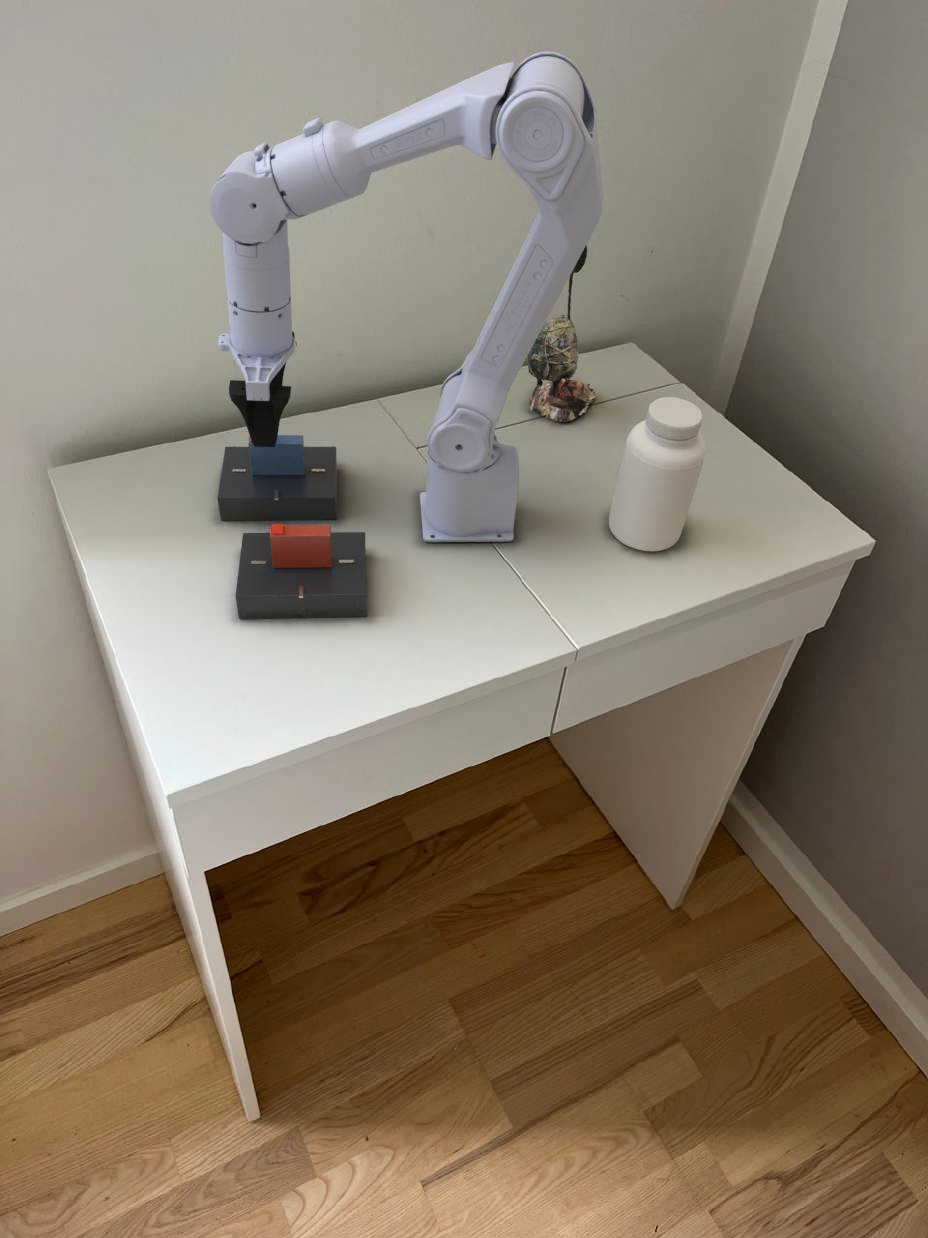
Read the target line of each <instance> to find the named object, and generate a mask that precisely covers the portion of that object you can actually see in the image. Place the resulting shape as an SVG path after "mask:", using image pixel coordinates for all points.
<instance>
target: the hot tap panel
mask: <svg viewBox="0 0 928 1238" xmlns="http://www.w3.org/2000/svg"><path fill="white" fill-rule="evenodd" d="M331 549H332V567H319V568H273V560H272V551H271V542H270V532H242V537H241V547H240V554H239V564H238V572H237V578H236V579H237V580H236V588H235V603H236V609H237V616H238V619H239V620H250V619H252V620H255V619H256V620H257V619H258V620H259V619H311V618H312V619H313V618H366V617H367V616H368V615H367V614H368V612H367V611H368V610H367V608H368V606H367V603H368V602H367V557H366V555H367V554H366V552H367V551H366V550H367V549H366V532H365V531H333V532H332V531H331Z"/></svg>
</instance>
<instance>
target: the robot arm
mask: <svg viewBox="0 0 928 1238" xmlns="http://www.w3.org/2000/svg"><path fill="white" fill-rule="evenodd" d="M515 64H516V61H511V62H506V63H501V64H498V65H496V66H493V67H491V68H488V69H487V70H485V71H481V72H480V73H477V74H476V75H473V76H470V77H469V78H466V79H464V80H462V81H460V82H458V83H456V84H453V85H451V86H449V87H447V88H445V89H443V90H440V91H438V92H436V93H434V94H432V95H430V96H428V97H425V98H423V99H421V100H419V101H417V102H415V103H412V104H411V105H408V106H407V107H404V108H401V109H400V110H398V111H395V112H393V113H391V114H389V115H387V116H385V117H383V118H381V119H378V120H376V121H374V122H372V123H370V124H368V125H366V126H363V127H361V128H357V127H354V126H352V125H349V124H348V123H346V122H344V121H340V120H332V121H330V122H327V123H326V124H324V122H323V120H322V119H321V118H320V117H317V118H315V119H312V120H309V121H308V122H306V124H305V125H304V126H303V127H302V132H303V133H301V134H300V135H297V136H295V137H292V138H289V139H287V140H285V141H282V142H280V143H278V144H274V145H273V146H270V145H269V144H268V143H267V142H263V143H261V144H258V145H257V146H255V148H254V149H253V150H249V151H245V152H242V153H240V154H239V155H238V156H237V157H235V158H234V160H233V161H232V162H231V163H230V164H229V166H228V167H227V168H226V169H225V170H224V172H223V173H222V174H221V175H220V176H219V177H218V179H217V180H216V181H215V183H214V185H213V186H212V188H211V191H210V193H209V199H208V202H209V204H208V206H209V210H210V214H211V217H212V219H213V221H214V223H215V224H216V226H217V227H218V229H220V231H221V233H222V234H221V235H222V246H223V247H222V255H223V266H224V277H225V287H226V288H225V289H226V298H227V311H228V323H229V333H220V334H219V336H218V340H217V346H218V349H219V350H220V351H223V352H229V353H230V354H231V355H232V357H233V359H234V361H235V363H236V364H237V366H238V368H239V370H240V372H241V374H242V376H243V378H244V380H239V379H230V380H229V385H228V394H229V399H230V401H231V402H232V403H233V404H234V406H235V407H236V408H237V409H238V411H239V412H240V414H241V416H242V418H243V420H244V423H245V425H246V428H247V431H248V434H249V435H250V438H251V440H252V443H253V445H254V446H255V447H275V445H276V441H277V436H278V435H279V427H280V420H281V418H282V415H283V412H284V410H285V408H286V406H287V405H288V403H289V401H290V398H291V394H292V386H291V385H283V381H284V374H285V368H286V365H287V363H288V361H289V359H290V358H291V357H292V355H294V353H295V349H296V344H295V341H296V340H295V338H296V337H295V335H296V334H295V332H294V331H293V317H292V315H293V314H292V294H291V293H292V292H291V291H292V290H291V264H290V263H291V262H290V247H289V232H288V231H289V229H288V220H298V219H302V218H304V217H306V216H309V215H311V214H314V213H317V212H319V211H321V210H325V209H328V208H329V207H333V206H335V205H337V204H340V203H342V202H346V201H348V200H351V199H353V198H355V197H358V196H361V195H363V194H364V193H365V192H366V190H367V188H368V185H369V182H370V178H371V176H372V173H375V172H379V171H381V170H385V169H388V168H390V167H394V166H397V165H399V164H402V163H406V162H409V161H412V160H414V159H417V158H420V157H423V156H424V157H425V156H426V155H430V154H433V153H436V152H439V151H443V150H445V149H449V148H451V147H454V146H462V147H464V148H466V149H467V150H469V151H471V152H473V153H474V154H476V155H478V156H480V157H481V158H483V159H485V160H487V161H492V160H493V157H494V154H495V150H496V147H497V148H498V149H497V150H498V151H499V153H500V155H501V157H502V159H503V160H504V162H505V163H506V164H507V165H508V167H509V168H510V169H511V170H512V172H514V174H515V175H516V176H517V177H519V179H520V180H521V181H522V182H523V183H524V184H525V185H526V186H527V187H528V188H529V190H530V192H531V194H532V196H533V199H534V202H535V204H536V206H537V208H538V213H537V214H536V217H535V218H534V221H533V223H532V225H531V227H530V229H529V232H528V233H527V236H526V238H525V240H524V241H523V243H522V246H521V248H520V250H519V252H518V255H517V256H516V258H515V260H514V262H513V265H512V267H511V269H510V271H509V273H508V275H507V277H506V280H505V281H504V282H503V283H504V284H503V285H502V287H501V290H500V292H499V294H498V296H497V298H496V299H495V302H494V305H493V306H492V309H491V311H490V312H489V314H488V317H487V319H486V321H485V323H484V325H483V327H482V329H481V332H480V333H479V336H478V338H477V340H476V341H475V344H474V346H473V348H472V350H471V351H470V352H468V354H467V355H466V357H465V359H464V361H463V363H462V365H460V367H459V368H458V369H457V370H455V371H454V372H452V373H451V374H449V376H447V378H446V379H444V381H443V383H442V385H441V388H440V394H439V402H438V405H437V407H436V411H435V415H434V419H433V422H432V425H431V427H430V429H429V430H428V433H427V437H426V445H427V461H426V462H427V463H426V485H425V487H426V489H425V491H422V492H420V493H419V505H420V516H421V528H422V539H423V540H422V541H424V542H425V543H479V542H480V543H481V542H482V543H483V542H484V543H485V542H486V543H487V542H489V543H490V542H493V543H495V542H512V541H514V537H515V536H514V528H515V519H516V511H517V506H518V505H517V504H518V496H519V488H520V487H519V486H520V460H519V453H518V449H517V447H516V446H515V445H508V444H503V443H500V442H499V441H498V438H497V435H496V428H497V425H498V423H499V420H500V418H501V416H502V412H503V409H504V407H505V404H506V401H507V398H508V396H509V393H510V390H511V388H512V385H513V384H514V382H515V380H516V378H517V377H518V375H519V372H520V371H521V369H522V367H523V365H524V363H525V361H526V359H527V358H528V354H529V352H530V350H531V348H532V346H533V344H534V342H535V340H536V339H537V337H538V335H539V333H540V331H541V329H542V327H543V325H544V324H545V322H546V320H547V318H548V317H550V314H551V312H552V311H553V308H554V306H555V305H556V303H557V301H558V299H559V297H560V295H561V293H562V291H563V289H564V288H565V286H566V284H567V282H568V281H569V278H570V275H571V273H572V271H573V269H574V267H575V265H576V263H577V261H578V260H579V258H580V256H581V254H582V252H583V250H584V248H585V246H586V245H587V246H588V243H589V241H590V239H591V237H592V235H593V233H594V231H595V229H596V228H597V225H598V224H599V222H600V220H601V217H602V213H603V202H604V189H603V180H602V179H603V178H602V167H601V158H600V149H599V148H600V147H599V137H598V122H597V120H598V119H597V106H596V102H595V100H594V97H593V96H592V93H591V91H590V89H589V87H588V85H587V82H586V80H585V77H584V75H583V73H582V71H581V69H580V68H579V66H578V65H577V64H576V63H575V62H574V61H573V60H572V59H570V58H569V57H567V56H566V55H564V54H562V53H560V52H556V51H540V52H537V53H534V54H532V55H529V56H527V57H526V58H525V59H523V61H522V62H520V63H519V64H518V66H517V67H516V68H515ZM514 68H515V70H514ZM513 70H514V71H513Z"/></svg>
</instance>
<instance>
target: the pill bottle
mask: <svg viewBox="0 0 928 1238" xmlns="http://www.w3.org/2000/svg"><path fill="white" fill-rule="evenodd" d="M703 417H704V416H703V412H702V411H701V409H700V408H699V407H698V406H697V405H695V404H694V403H693V402H691V401H689V400H687V399H684V398H680V397H675V396H674V397H673V396H665V397H664V396H663V397H659V398H656V399H654V400H653V401H652V402H651V403H650V404H649V405H648V407H647V411H646V416H645V419H644V420H642V421H640V422H638V423H637V424H636V425H634V426H633V428H632V429H631V430H630V432H629V433H628V435H627V438H626V441H625V446H624V450H623V455H622V459H621V462H620V467H619V471H618V475H617V480H616V485H615V488H614V491H613V492H614V493H613V497H612V502H611V506H610V510H609V514H608V526H609V531H610V532H611V533H612V535H613V536H614V537H615V539H617V540H618V541H619V542H620V543H622V544H623V545H625V546H626V547H630V548H632V549H635V550H638V551H644V552H660V551H664V550H667V549H669V548H671V547H673V546H674V545H675V544H676V543H677V542H678V541H679V540H680V537H681V535H682V533H683V530H684V527H685V524H686V520H687V517H688V514H689V511H690V507H691V504H692V501H693V498H694V495H695V492H696V489H697V485H698V483H699V480H700V479H699V478H700V476H701V472H702V469H703V465H704V462H705V459H706V455H707V447H706V442H705V440H704V437H703V436H702V434H701V433H700V430H701V426H702V423H703V419H704V418H703Z"/></svg>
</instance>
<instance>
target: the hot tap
mask: <svg viewBox="0 0 928 1238" xmlns="http://www.w3.org/2000/svg"><path fill="white" fill-rule="evenodd" d="M331 532H332V531H331V525H330V524H284V523H272V524H271V525H270V530H269V533H270V542H271V551H272V560H273V568H319V567H332V549H331Z"/></svg>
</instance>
